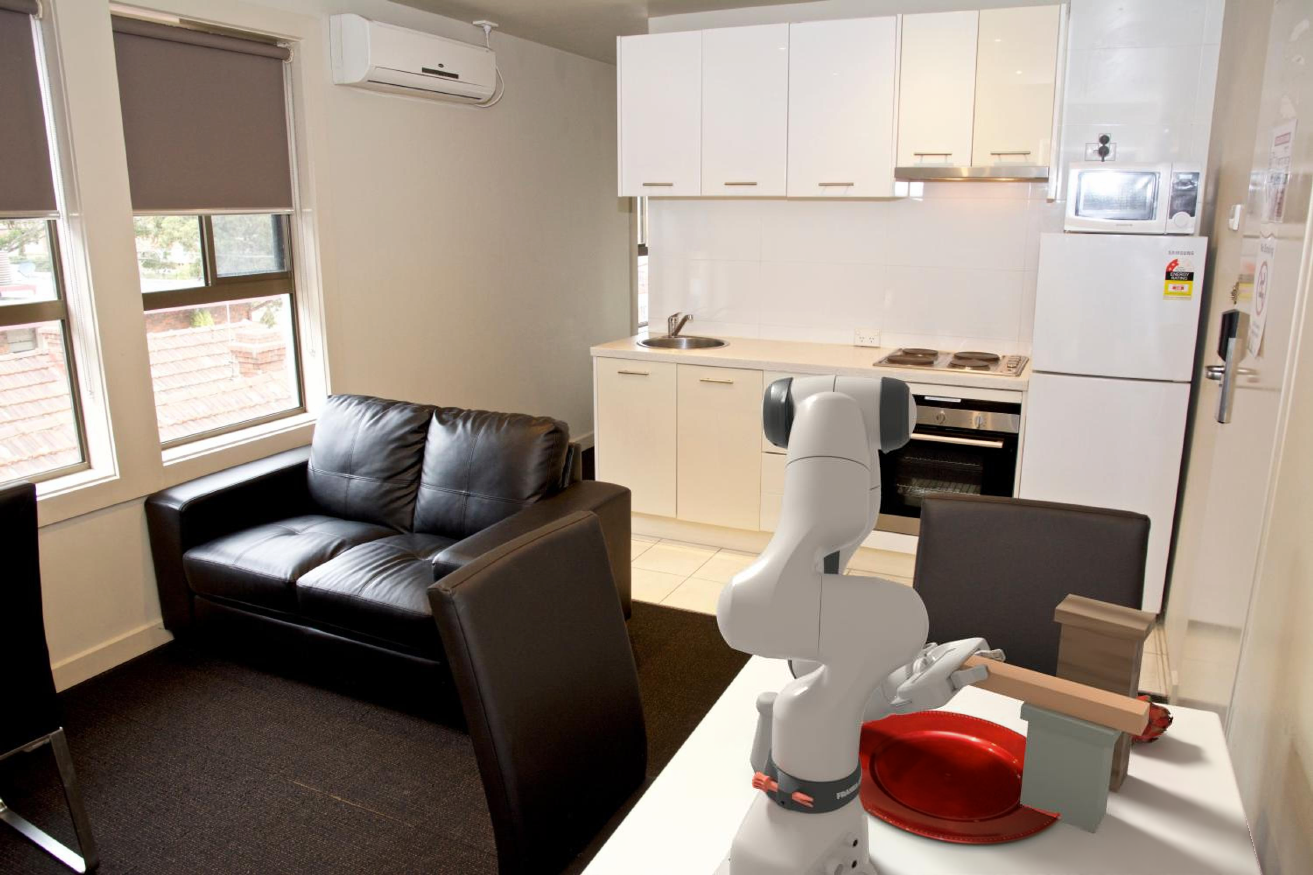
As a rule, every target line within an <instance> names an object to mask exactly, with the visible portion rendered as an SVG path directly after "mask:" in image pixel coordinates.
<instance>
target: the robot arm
mask: <svg viewBox="0 0 1313 875" xmlns="http://www.w3.org/2000/svg"><path fill="white" fill-rule="evenodd" d="M759 410H760V412H759V414H760V415H759V416H760V417H759V418H760V422H761V426H762V428H763V432H764V435H765V438H766V439H767V441H769V443H771V444H772V445H773V446H775V447H776V448H777V447H778V448H781V449H785V450H787V451H786V456H785V457H786V458H785V468H784V469H785V471H784V481H783V482H784V483H783V484H784V485H783V493H782V499H781V500H782V501H781V507H780V508H781V509H780V514H779V517H778V518H779V519H778V522H777V527H776V529H775V532H774V534H773V536H772V538H771V540H770V541H769V543H768V544H767V546H766V547H765V549H764V550H763V551H762V552H761V553H760V555H759V556H757V558H755V559H754V560H753V562H751V563H750V564H748V565H747V566H745V567H744V568H743V569H741V570H740V571H738V572H737V573H735V574H733V575H732V576H731V577H730V578H729V579H728V580H727V581H726V583H725V584H724V586H723V587H722V589H721V590H720V593H719V596H718V598H717V603H716V608H715V609H716V612H715V613H716V614H715V615H716V621H717V626H718V629H719V633H720V634H721V636H722V637H723V639H724V641H725V642H726V643H727V645H728V646H729V647H730V648H731V649H734V650H737V651H740V652H743V653H747V654H750V655H754V656H756V657H761V658H766V659H773V660H785V661H787V665H788V668H789V671H790V674H791V675H792V677H793V680H792V681H790V682H789V683H788V684H786V685H785V686H784V687H783V688H781V690H780V691H779V692H778V693H779V694H778V695H777V697H776V699H775V701H774V705H773V720H772V747H771V749H770V751H769V754H768V758H767V760H766V763H765V767H764V768H765V771H764V774H762V773H760V772H757V773H756V774H755V773H754V775H753V777H752V779H751V786H752V787H753V788H754V789H756V790H758V792H757V794H756V795H755V798H754V799H753V801H752V802H751V805H750V807H749V808H748V810H747V812H746V813H745V816H744V818H743V819H742V821H741V824H740V825H739V827H738V830H736V833H735V835H734V836H733V839H732V842H731V847H730V849H729V850H728V851H727V853H726V855H724V858H723V859H721V861H720V862H719V864H718V866H717V868H715V870H714V872H713V873H712V875H878V871H877V870H876V868H875V867H874V866H873V864H872V862H871V861H870V847H869V846H870V843H869V842H870V841H869V839H870V838H869V820H868V816H867V813H866V811H865V808H864V806H863V803H862V801H861V797H860V791H861V787H862V786H861V784H862V779H863V768H862V760H861V757H860V755H859V754H860V753H859V752H860V740H861V732H862V725H863V723H867V722H873V721H880V720H883V719H887V718H888V717H889V716H891V715H899V716H901V715H902V716H903V715H909V714H910V715H911V714H914V713H918V712H925V711H932V710H936V709H940V708H942V707H944V706H947V704H948V703H950V702H951V700H952V699H953V698H955V697H956V695H957V694H959V692H961V691H962V690H963V688H965V687H967V686H970V684H972V683H974V682H976V681H979V680H984V679H986V678H987V677H988V676H989V675H990V673H991V672H990V670H989V668H988V666H987V665H986V664H981V665H976V666H975V667H974V668H970V669H967V670H963V664H964V663H965V662H966V661H967V660H968V659H969V658H970V657H971V656H972V655H977V656H980V657H984V658H988V659H991V660H995V661H999V662H1002V663H1004V661H1005V660H1006V655H1005V653H1004V651H1003V649H1000V648H997V649H994V650H991V648H990V646H989V644H988V642H987V640H986V639H985V638H983V637H972V638H971V637H970V638H964V639H960V640H954V641H949V642H946V643H943V644H939V645H938V644H937V642H930V643H928V644H926V642H927V639H928V634H929V629H930V628H929V627H930V625H929V624H930V621H929V615H928V611H927V609H926V605H925V603H924V601H923V599H922V598H921V596H920V595H919V593H918V592H917V591H916V589H915V588H913V587H912V586H910V585H907V584H904V583H900V582H897V581H893V580H889V579H884V578H881V577H876V576H865V575H852V574H851V575H850V574H844V573H845V570H846V568H847V566H848V563H849V562H850V561H851V558H852V557H853V556H854V555H855V553H856V551H857V550H858V548H860V546H861V545H862V544H863V543H864V542H865V540H866V539H867V538H868V536H870V535H871V533H872V531H873V530H874V529H875V527H876V525H877V523H878V518H879V514H880V510H881V501H882V500H881V499H882V496H881V495H882V491H881V490H882V489H881V488H882V482H881V467H880V466H881V465H880V456H879V450H880V451H882V453H884V454H887V453H889V452H890V451H894V450H898V449H900V448H902V447H903V446H905V445H906V444H907V443H908V442H909V441H910V440H911V435H912V434H913V431H914V430H915V427H916V422H917V416H918V413H917V412H918V410H917V404H916V401H915V397H914V396H913V394H912V392H911V389H910V386H909V385H908V384H907V383H906V382H905V381H904V380H901V379H899V378H896V377H895V378H894V377H889V376H888V377H887V376H882V377H881V378H875V377H867V376H854V375H853V376H852V375H847V376H846V375H837V374H828V375H826V374H825V375H813V376H806V377H800V378H794V377H793V376H791V377H785V378H780V379H777V380H774V381H772V382H771V383H770V384H769V386H768V387H767V388H766V389H765V391H764V395H763V398H762V400H761V404H760V409H759Z"/></svg>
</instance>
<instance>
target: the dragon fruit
mask: <svg viewBox="0 0 1313 875" xmlns="http://www.w3.org/2000/svg"><path fill="white" fill-rule="evenodd" d="M1137 700H1140V701H1144V702H1148V703H1150V709H1149V717H1148V724H1147V726H1146V728H1145V729H1144V731H1143V733H1142V735H1141V736H1139V735H1135V734H1132V741H1131V744H1132V745H1136V744H1137V743H1138V741H1142V742H1146V743H1147V744H1152V743H1154V742H1156V741H1158V740H1159V736H1160V735H1161V736H1162V734H1163V733H1165V732H1167V731H1168V730H1167V729H1168V728H1170V727H1171V725H1172V724H1173V720H1174V716H1173V715H1172V712H1170V710H1169V709H1168V708H1167V707H1166V706H1165V707H1164V706H1162V705H1158V704H1156V703H1154V702H1153V701H1152V697H1151V695H1148V694H1145V695H1142V696H1141V695H1137ZM1171 715H1172V716H1171Z"/></svg>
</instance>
